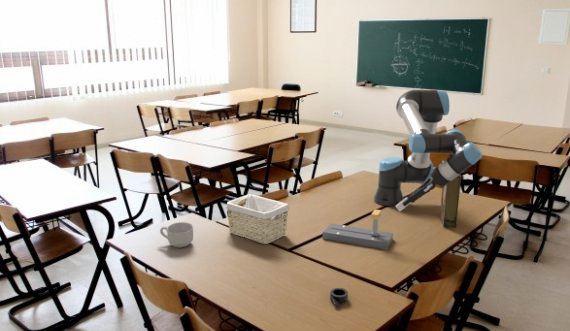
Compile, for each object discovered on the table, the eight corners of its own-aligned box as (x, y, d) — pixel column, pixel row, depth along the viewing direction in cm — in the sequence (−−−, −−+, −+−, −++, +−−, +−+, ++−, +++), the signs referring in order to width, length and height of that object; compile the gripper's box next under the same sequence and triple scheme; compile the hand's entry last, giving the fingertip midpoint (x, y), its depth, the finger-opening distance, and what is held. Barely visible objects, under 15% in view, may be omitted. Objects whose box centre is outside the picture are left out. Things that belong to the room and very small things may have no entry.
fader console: (392, 239, 204) (393, 232, 203) (387, 249, 194) (387, 242, 194) (330, 229, 215) (330, 223, 214) (322, 238, 205) (322, 231, 204)
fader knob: (380, 232, 203) (381, 210, 200) (377, 237, 198) (378, 215, 195) (373, 231, 204) (374, 209, 202) (369, 236, 199) (371, 214, 196)
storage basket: (225, 233, 211) (224, 201, 207) (250, 222, 223) (249, 192, 219) (266, 247, 196) (265, 214, 193) (290, 235, 209) (290, 203, 205)
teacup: (198, 241, 202) (197, 223, 200) (185, 251, 192) (184, 233, 190) (170, 237, 206) (169, 219, 204) (155, 247, 196) (154, 229, 194)
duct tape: (319, 301, 156) (320, 293, 156) (339, 290, 163) (339, 282, 162) (337, 310, 151) (338, 302, 150) (357, 299, 158) (357, 291, 157)
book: (439, 215, 233) (443, 165, 226) (451, 216, 232) (456, 166, 225) (443, 227, 217) (448, 175, 211) (456, 228, 216) (461, 175, 210)
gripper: (439, 162, 190) (394, 196, 200) (435, 170, 178) (388, 206, 189) (452, 176, 189) (406, 210, 200) (449, 185, 177) (401, 220, 188)
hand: (397, 208), depth 194 cm, fingers closed
